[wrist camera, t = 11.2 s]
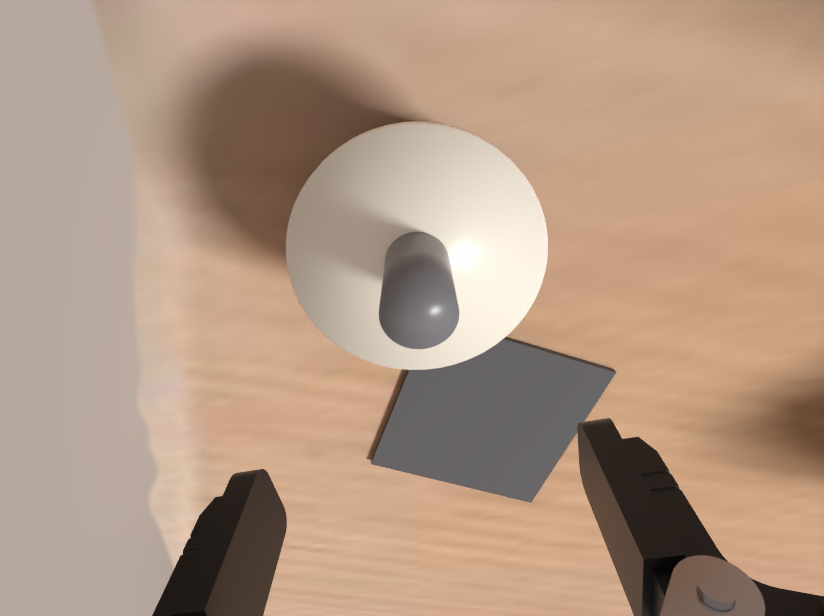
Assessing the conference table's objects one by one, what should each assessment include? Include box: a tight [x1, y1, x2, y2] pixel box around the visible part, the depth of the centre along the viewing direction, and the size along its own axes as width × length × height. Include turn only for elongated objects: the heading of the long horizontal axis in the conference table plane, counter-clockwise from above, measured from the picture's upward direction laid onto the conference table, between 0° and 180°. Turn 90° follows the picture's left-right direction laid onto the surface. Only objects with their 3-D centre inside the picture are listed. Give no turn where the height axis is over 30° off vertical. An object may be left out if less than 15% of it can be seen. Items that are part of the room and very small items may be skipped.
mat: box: [371, 337, 616, 502], centre depth 38 cm, size 15×15×1 cm
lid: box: [286, 121, 548, 370], centre depth 22 cm, size 13×13×6 cm
